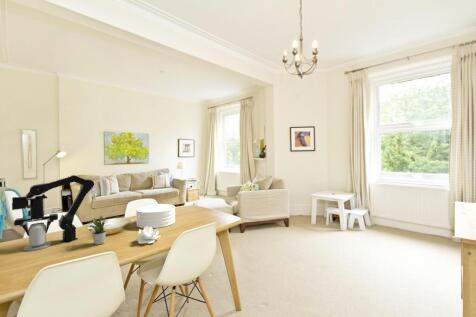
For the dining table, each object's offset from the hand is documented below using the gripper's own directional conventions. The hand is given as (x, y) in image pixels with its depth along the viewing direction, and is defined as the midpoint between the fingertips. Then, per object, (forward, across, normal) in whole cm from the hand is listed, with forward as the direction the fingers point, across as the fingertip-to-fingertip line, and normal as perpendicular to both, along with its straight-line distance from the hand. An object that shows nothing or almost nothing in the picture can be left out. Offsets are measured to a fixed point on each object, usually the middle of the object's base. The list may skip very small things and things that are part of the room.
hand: (37, 234), depth 134 cm
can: (+6, 0, 0) cm, 6 cm away
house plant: (+8, -28, +14) cm, 32 cm away
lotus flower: (+8, -53, +29) cm, 61 cm away
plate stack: (+8, -69, -7) cm, 70 cm away
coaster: (+7, 0, 0) cm, 7 cm away
